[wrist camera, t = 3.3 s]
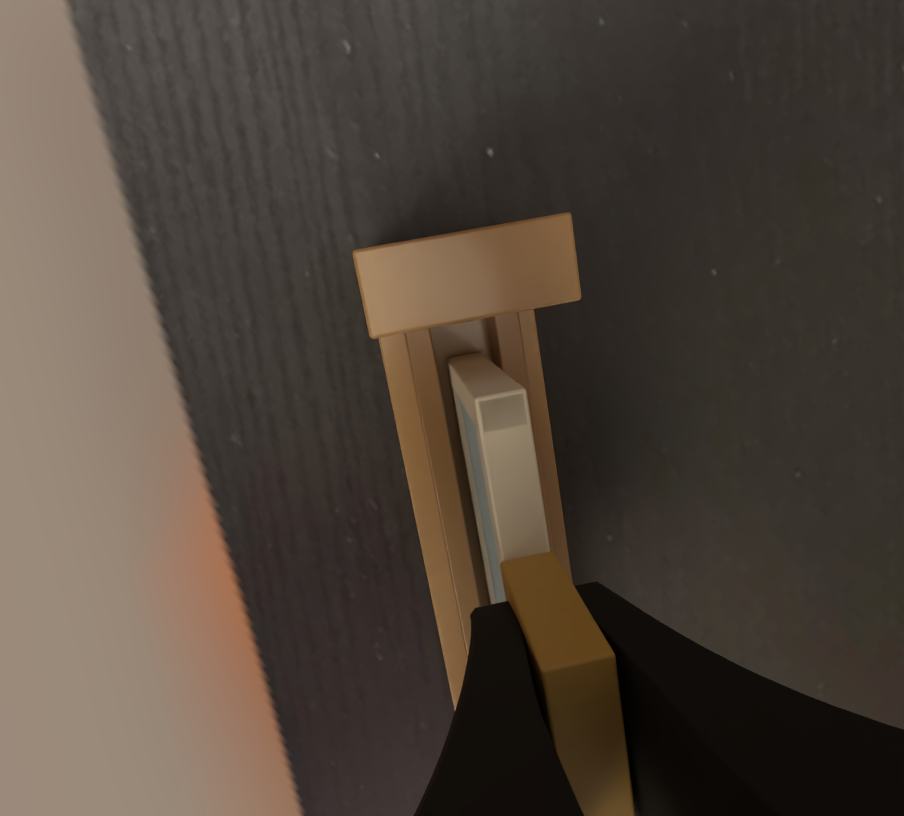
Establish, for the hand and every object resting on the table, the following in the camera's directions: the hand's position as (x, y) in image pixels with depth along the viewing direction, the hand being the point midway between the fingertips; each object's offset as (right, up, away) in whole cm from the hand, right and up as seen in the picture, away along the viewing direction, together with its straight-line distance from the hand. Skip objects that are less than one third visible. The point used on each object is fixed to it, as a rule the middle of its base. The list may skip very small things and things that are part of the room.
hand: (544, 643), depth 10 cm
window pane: (-1, +1, +5) cm, 5 cm away
